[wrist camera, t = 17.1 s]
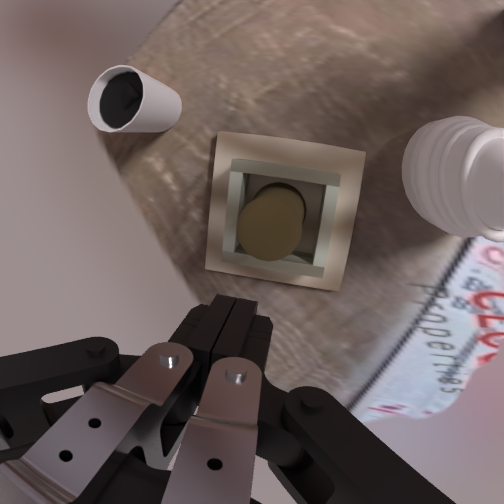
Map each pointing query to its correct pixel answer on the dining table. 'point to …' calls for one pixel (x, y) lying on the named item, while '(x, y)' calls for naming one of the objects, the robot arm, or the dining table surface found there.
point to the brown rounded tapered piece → (272, 222)
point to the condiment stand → (313, 191)
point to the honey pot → (457, 176)
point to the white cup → (132, 102)
